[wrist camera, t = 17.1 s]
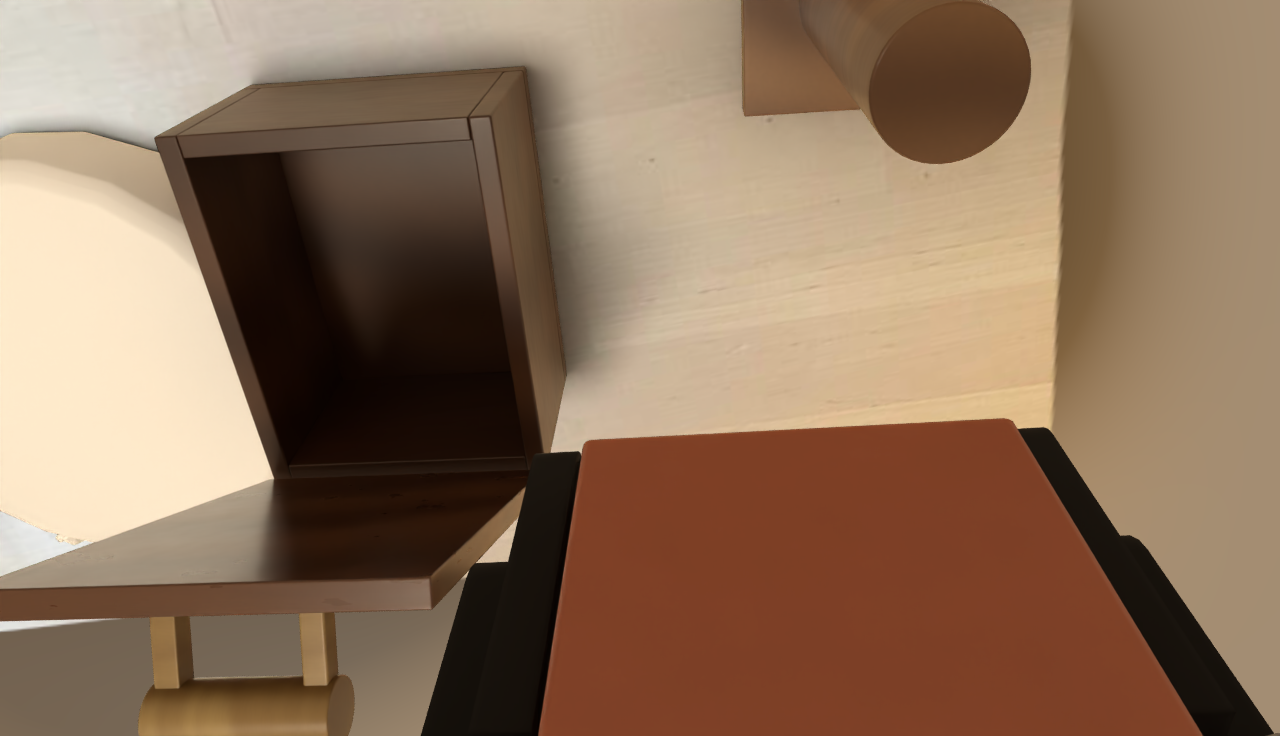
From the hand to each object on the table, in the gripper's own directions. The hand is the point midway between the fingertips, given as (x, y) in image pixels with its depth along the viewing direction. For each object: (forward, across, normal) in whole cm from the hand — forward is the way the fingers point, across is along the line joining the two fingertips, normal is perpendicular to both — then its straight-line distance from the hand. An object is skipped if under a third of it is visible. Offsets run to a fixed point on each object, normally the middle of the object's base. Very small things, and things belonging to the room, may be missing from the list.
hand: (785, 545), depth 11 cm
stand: (+28, -5, -2) cm, 29 cm away
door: (+14, +13, +10) cm, 22 cm away
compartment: (+29, +13, +6) cm, 32 cm away
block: (-1, 0, 0) cm, 1 cm away
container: (+29, +29, +10) cm, 42 cm away
